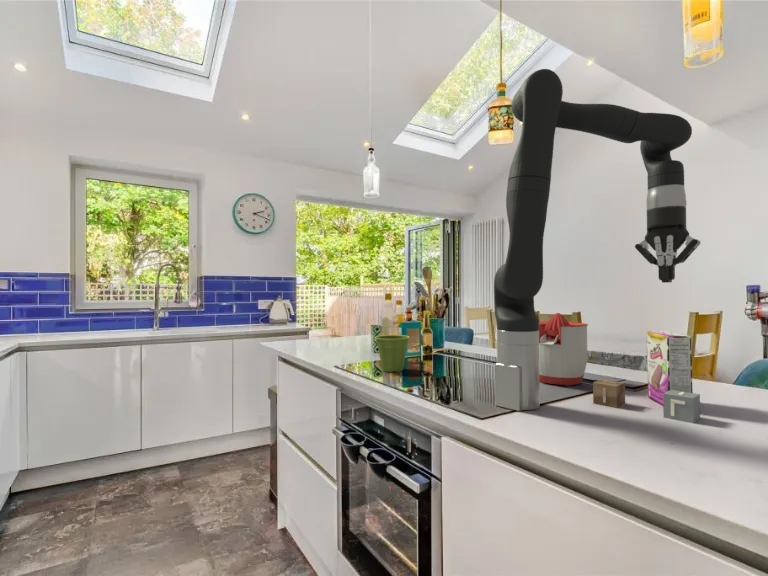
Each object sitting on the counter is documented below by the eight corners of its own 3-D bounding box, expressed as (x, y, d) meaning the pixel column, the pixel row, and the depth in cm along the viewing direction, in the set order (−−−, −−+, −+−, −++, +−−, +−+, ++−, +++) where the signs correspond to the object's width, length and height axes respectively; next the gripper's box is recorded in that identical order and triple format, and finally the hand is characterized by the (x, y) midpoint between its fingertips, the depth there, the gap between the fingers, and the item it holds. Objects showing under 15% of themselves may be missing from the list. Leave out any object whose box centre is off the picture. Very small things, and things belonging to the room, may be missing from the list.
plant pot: (380, 366, 144) (379, 334, 144) (413, 368, 141) (412, 335, 141) (370, 372, 132) (370, 338, 133) (405, 374, 129) (405, 339, 129)
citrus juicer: (519, 383, 116) (518, 313, 116) (541, 374, 129) (540, 311, 129) (578, 392, 106) (577, 314, 106) (595, 381, 119) (594, 312, 119)
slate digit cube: (693, 423, 80) (692, 397, 80) (663, 418, 84) (663, 393, 84) (700, 418, 83) (699, 393, 83) (671, 413, 87) (670, 389, 87)
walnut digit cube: (616, 408, 91) (616, 385, 91) (593, 404, 95) (592, 381, 95) (625, 404, 94) (625, 382, 94) (602, 400, 98) (602, 378, 98)
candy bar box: (646, 397, 100) (645, 330, 100) (669, 398, 99) (668, 330, 99) (668, 410, 89) (667, 335, 89) (694, 411, 88) (693, 335, 88)
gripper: (628, 210, 97) (629, 282, 97) (696, 200, 87) (697, 281, 87) (639, 214, 102) (640, 283, 102) (705, 205, 92) (706, 282, 92)
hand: (666, 282), depth 94 cm, fingers closed
